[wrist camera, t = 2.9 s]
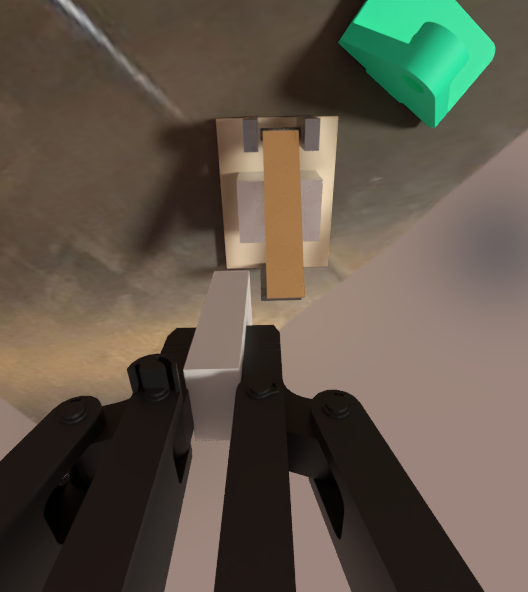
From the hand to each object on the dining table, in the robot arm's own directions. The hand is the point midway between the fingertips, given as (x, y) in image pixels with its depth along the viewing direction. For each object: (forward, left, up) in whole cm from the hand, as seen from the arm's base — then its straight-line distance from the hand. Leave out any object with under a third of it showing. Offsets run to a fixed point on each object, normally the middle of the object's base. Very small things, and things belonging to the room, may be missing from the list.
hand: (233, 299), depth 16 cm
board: (+3, -2, -27) cm, 27 cm away
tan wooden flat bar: (+3, -1, -16) cm, 16 cm away
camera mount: (+16, +12, -27) cm, 33 cm away
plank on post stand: (+3, -2, -25) cm, 26 cm away
